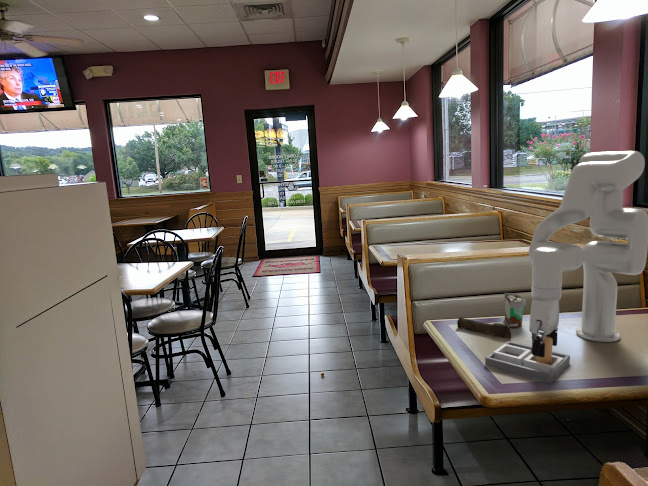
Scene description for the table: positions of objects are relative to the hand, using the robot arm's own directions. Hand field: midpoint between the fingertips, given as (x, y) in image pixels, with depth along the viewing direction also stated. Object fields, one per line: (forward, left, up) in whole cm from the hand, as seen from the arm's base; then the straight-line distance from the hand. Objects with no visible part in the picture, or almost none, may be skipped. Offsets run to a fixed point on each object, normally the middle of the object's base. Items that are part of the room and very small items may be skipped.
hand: (544, 350), depth 132 cm
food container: (-31, -21, -6) cm, 37 cm away
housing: (0, -5, -6) cm, 7 cm away
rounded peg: (0, 0, -5) cm, 5 cm away
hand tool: (-16, -26, -6) cm, 31 cm away
